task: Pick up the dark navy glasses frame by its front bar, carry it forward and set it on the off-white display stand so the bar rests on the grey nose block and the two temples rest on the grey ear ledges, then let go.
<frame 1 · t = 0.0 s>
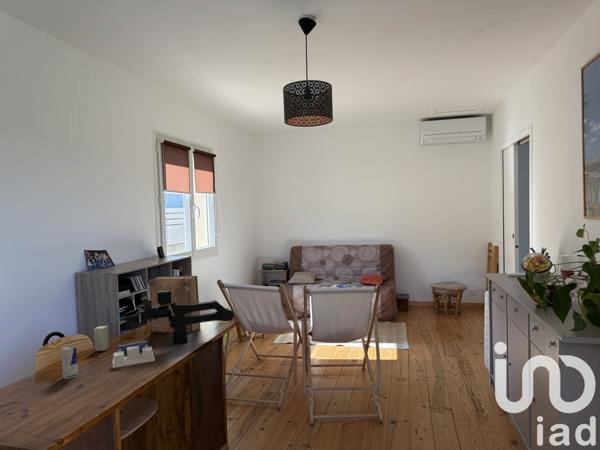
hand: (123, 317, 197), 17 cm above the table, tool horizontal, fingers open, 9 cm apart
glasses: (133, 350, 197), on the table
energy drink: (70, 377, 168), on the table
display stand: (133, 359, 185), on the table
book: (176, 330, 230), on the table
box: (102, 349, 202), on the table
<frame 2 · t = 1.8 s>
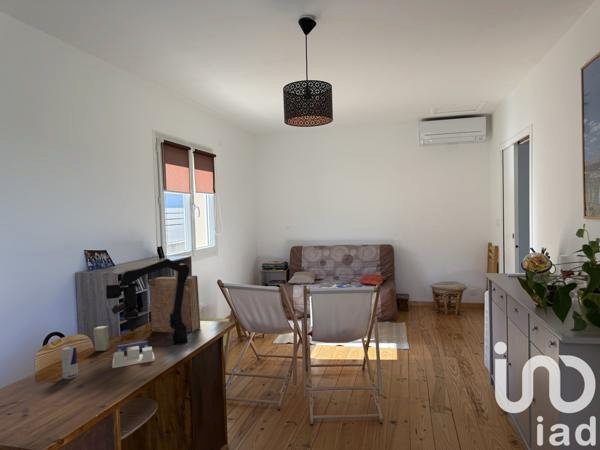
hand: (132, 328, 197), 11 cm above the table, tool pointing down, fingers open, 9 cm apart
nothing on the table moved.
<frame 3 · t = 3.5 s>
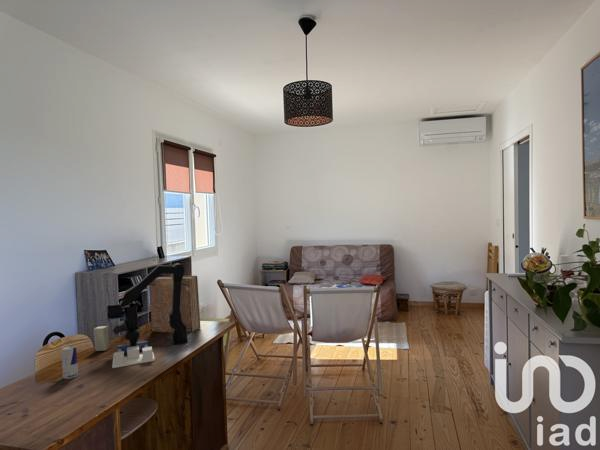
hand: (133, 348, 197), 1 cm above the table, tool pointing down, fingers closed on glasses, 2 cm apart
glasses: (133, 350, 197), on the table, touching gripper
everything else where it was.
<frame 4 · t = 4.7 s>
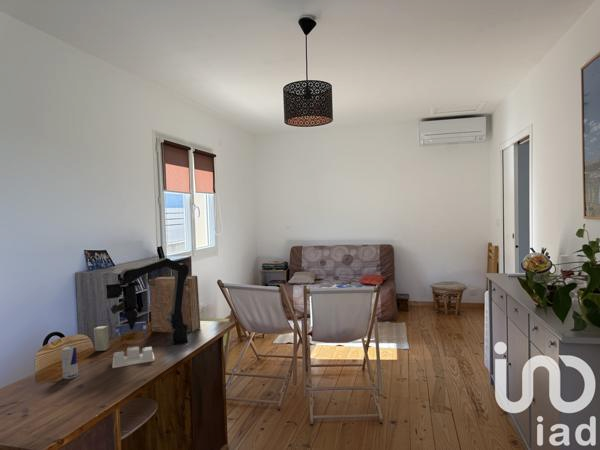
hand: (131, 328, 194), 12 cm above the table, tool pointing down, fingers closed on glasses
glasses: (131, 331, 194), point 11 cm above the table, touching gripper
everything else where it was.
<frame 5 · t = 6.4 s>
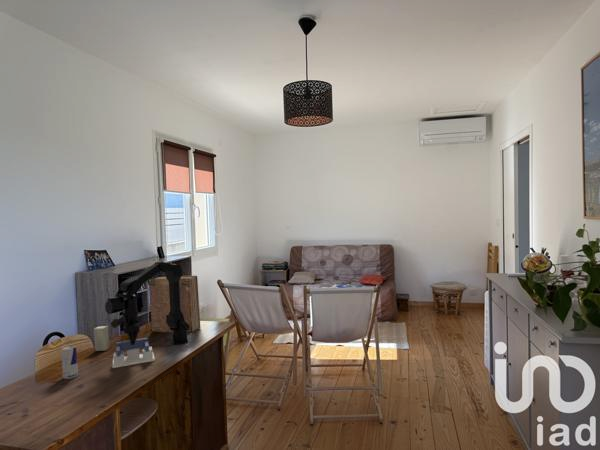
hand: (132, 343, 185), 7 cm above the table, tool pointing down, fingers open, 4 cm apart
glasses: (132, 348, 185), point 5 cm above the table, touching display stand
everything else where it was.
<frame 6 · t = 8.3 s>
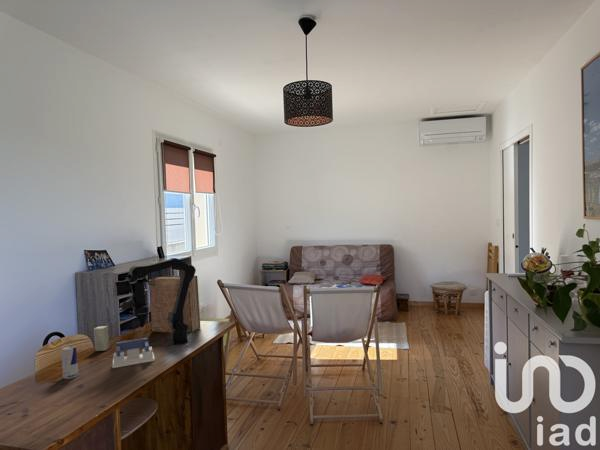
hand: (141, 325, 195), 13 cm above the table, tool pointing down, fingers open, 9 cm apart
nothing on the table moved.
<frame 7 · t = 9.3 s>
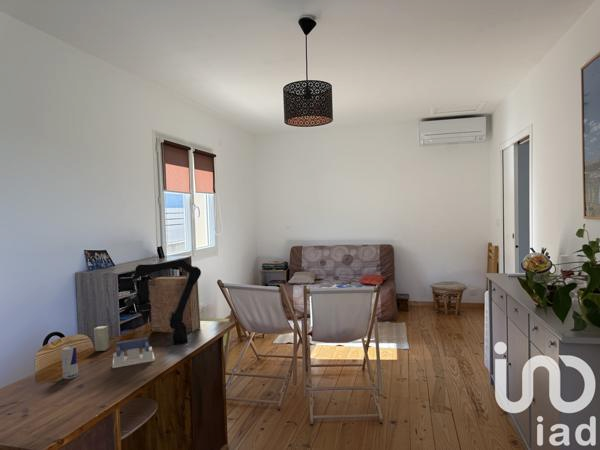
hand: (144, 321, 200), 13 cm above the table, tool pointing down, fingers open, 9 cm apart
nothing on the table moved.
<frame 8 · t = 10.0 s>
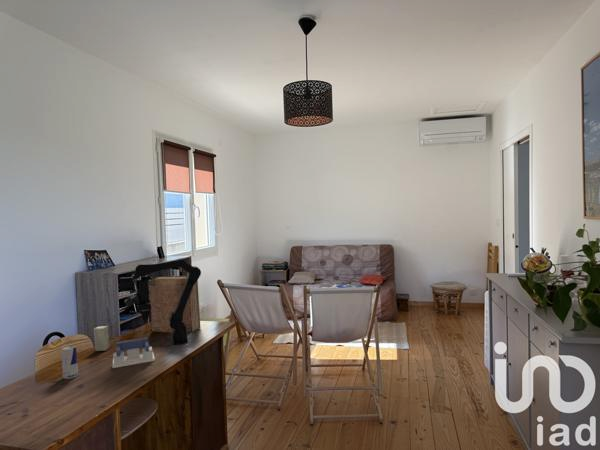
hand: (144, 321, 200), 13 cm above the table, tool pointing down, fingers open, 9 cm apart
nothing on the table moved.
at the end: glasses 0.2 cm from the target spot, point 5.0 cm above the table; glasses tilted 0°; the gripper is holding nothing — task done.
